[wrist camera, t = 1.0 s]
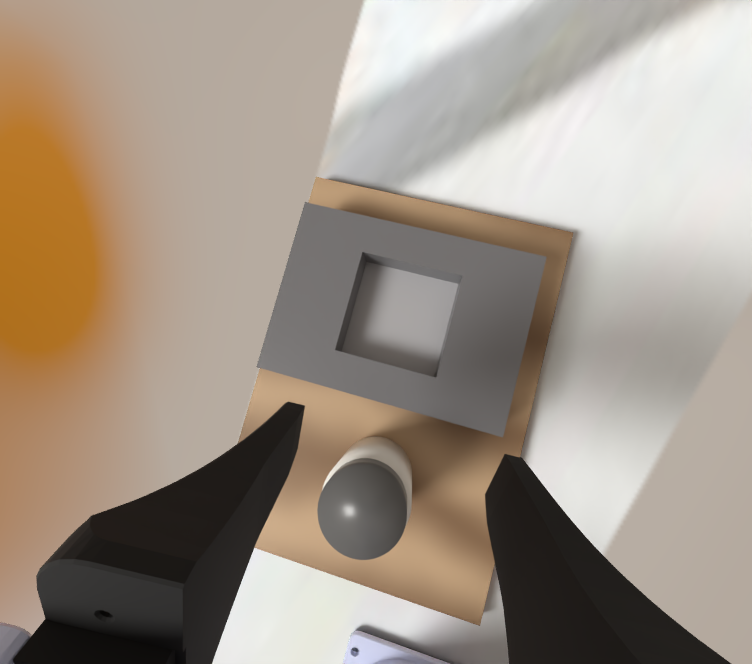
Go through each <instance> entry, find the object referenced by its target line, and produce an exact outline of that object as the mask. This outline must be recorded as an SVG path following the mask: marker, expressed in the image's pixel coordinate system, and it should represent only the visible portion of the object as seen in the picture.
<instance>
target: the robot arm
mask: <svg viewBox="0 0 752 664" xmlns="http://www.w3.org/2000/svg"><path fill="white" fill-rule="evenodd" d="M304 409H305V405H301V404H297V403H293V402H286V403H285V404H284V405H283V406H282V407H281V408H280V409H279V410H278V411H277V412H275V413H274V414H273V415H272V416H271V417H270V418H269V419H268V420H267V421H266V422H264V423H263V424H262V425H261V426H260V427H258V428H257V429H256V430H255V431H254V432H252V433H251V434H250V435H249V436H247V437H246V438H245V439H244V440H242V441H241V442H239V443H238V444H237V445H235V446H234V447H233V448H231V449H230V450H229V451H227V452H226V453H224V454H223V455H221V456H220V457H218V458H217V459H215V460H213V461H212V462H210V463H209V464H207V465H205V466H204V467H202V468H200V469H199V470H197V471H195V472H193V473H191V474H189V475H188V476H186V477H184V478H182V479H180V480H178V481H176V482H174V483H172V484H170V485H168V486H166V487H164V488H161V489H159V490H157V491H155V492H153V493H150V494H149V495H146V496H144V497H141V498H139V499H137V500H134V501H132V502H129V503H126V504H123V505H121V506H118V507H115V508H112V509H109V510H107V511H104V512H101V513H98V514H95V515H92V516H91V517H90V518H89V519H88V520H87V521H86V522H85V523H83V524H82V525H81V526H80V527H79V528H78V529H77V530H76V531H75V532H74V533H73V534H72V535H71V536H70V537H69V538H68V539H67V540H66V541H65V542H64V543H63V544H62V545H61V546H60V547H59V548H58V550H57V551H56V552H55V553H54V554H53V555H52V556H51V557H50V558H49V559H48V561H47V562H46V563H45V564H44V565H43V566H42V567H41V568H40V570H39V572H38V574H37V590H38V594H39V597H40V600H41V604H42V608H43V611H44V615H45V618H46V619H45V620H44V621H43V623H42V624H41V625H40V626H39V628H38V629H37V630H36V631H35V633H34V634H33V635H32V636H31V634H30V633H29V632H28V631H26V630H25V629H23V628H20V627H17V626H14V625H10V624H6V623H1V622H0V664H212V662H213V659H214V656H215V653H216V650H217V647H218V645H219V642H220V639H221V636H222V633H223V631H224V628H225V625H226V622H227V619H228V617H229V614H230V611H231V608H232V606H233V603H234V600H235V598H236V595H237V592H238V589H239V587H240V584H241V581H242V579H243V576H244V573H245V571H246V568H247V565H248V563H249V560H250V557H251V555H252V552H253V550H254V547H255V545H256V542H257V540H258V538H259V536H260V533H261V531H262V529H263V527H264V525H265V523H266V521H267V519H268V517H269V515H270V513H271V511H272V509H273V507H274V504H275V502H276V500H277V498H278V496H279V494H280V492H281V490H282V488H283V486H284V484H285V482H286V480H287V477H288V475H289V472H290V470H291V467H292V464H293V461H294V458H295V456H296V453H297V450H298V444H299V438H300V433H301V427H302V421H303V415H304ZM485 505H486V518H487V526H488V532H489V537H490V542H491V547H492V551H493V556H494V561H495V566H496V570H497V575H498V580H499V585H500V590H501V595H502V601H503V607H504V616H505V625H506V634H507V643H508V655H509V664H731V663H729V662H728V661H727V660H725V659H724V658H723V657H721V656H720V655H719V654H717V653H716V652H715V651H713V650H712V649H711V648H709V647H708V646H707V645H705V644H704V643H702V642H701V641H700V640H698V639H697V638H696V637H694V636H693V635H692V634H691V633H689V632H688V631H687V630H686V629H684V628H683V627H682V626H681V625H679V624H678V623H677V622H676V621H674V620H673V619H672V618H671V617H669V616H668V615H667V614H666V613H665V612H663V611H662V610H661V609H660V608H659V607H657V606H656V605H655V604H654V603H653V602H652V601H651V600H649V599H648V598H647V597H646V596H645V595H644V594H643V593H642V592H641V591H639V590H638V589H637V588H636V587H635V586H634V585H633V584H632V583H631V582H630V581H628V580H627V579H626V578H625V577H624V576H623V575H622V574H621V573H620V572H619V571H618V570H617V569H616V568H615V567H614V566H613V565H612V564H611V563H610V562H609V561H608V560H607V559H606V558H605V557H604V556H603V555H602V554H601V553H600V552H599V551H598V550H597V549H596V548H595V547H594V546H593V544H592V543H591V542H590V541H589V540H588V539H587V538H586V537H585V536H584V534H583V533H582V532H581V531H580V530H579V529H578V528H577V526H576V525H575V524H574V523H573V522H572V521H571V519H570V518H569V517H568V516H567V515H566V513H565V512H564V511H563V510H562V509H561V507H560V506H559V505H558V504H557V502H556V501H555V500H554V499H553V497H552V496H551V495H550V493H549V492H548V491H547V490H546V488H545V487H544V486H543V484H542V483H541V482H540V480H539V479H538V478H537V477H536V475H535V474H534V473H533V471H532V470H531V469H530V467H529V466H528V465H527V464H526V462H525V461H524V460H523V459H522V458H520V457H516V456H512V455H508V454H504V456H503V458H502V460H501V462H500V464H499V467H498V469H497V471H496V473H495V475H494V477H493V479H492V481H491V483H490V485H489V487H488V489H487V491H486V493H485ZM353 647H356V648H358V650H359V651H357V652H354V651H353V650H352V648H353ZM343 664H450V663H447V662H444V661H442V660H439V659H436V658H433V657H431V656H428V655H425V654H422V653H419V652H417V651H414V650H411V649H408V648H406V647H403V646H400V645H397V644H395V643H392V642H389V641H386V640H384V639H381V638H378V637H375V636H373V635H370V634H367V633H364V632H362V631H354V632H353V633H351V635H350V639H349V642H348V646H347V650H346V654H345V658H344V661H343Z"/></svg>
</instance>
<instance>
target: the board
mask: <svg viewBox="0 0 752 664" xmlns="http://www.w3.org/2000/svg"><path fill="white" fill-rule="evenodd" d="M308 203H311V204H316V205H320V206H325V207H329V208H334V209H338V210H342V211H347V212H351V213H356V214H360V215H364V216H369V217H373V218H378V219H382V220H387V221H391V222H395V223H400V224H404V225H409V226H413V227H418V228H422V229H426V230H431V231H435V232H440V233H444V234H448V235H453V236H457V237H462V238H466V239H471V240H475V241H479V242H484V243H488V244H493V245H497V246H502V247H506V248H510V249H515V250H519V251H524V252H528V253H532V254H537V255H541V256H546V257H547V258H546V262H545V266H544V270H543V274H542V278H541V282H540V287H539V291H538V295H537V299H536V303H535V307H534V311H533V316H532V320H531V324H530V328H529V332H528V336H527V340H526V344H525V349H524V353H523V357H522V361H521V365H520V369H519V373H518V377H517V382H516V386H515V390H514V394H513V398H512V402H511V406H510V410H509V415H508V419H507V423H506V427H505V431H504V435H503V437H500V436H496V435H493V434H489V433H486V432H482V431H479V430H475V429H472V428H468V427H465V426H461V425H458V424H454V423H451V422H447V421H444V420H440V419H437V418H433V417H430V416H426V415H423V414H419V413H416V412H412V411H409V410H405V409H402V408H398V407H395V406H391V405H388V404H384V403H381V402H377V401H374V400H370V399H367V398H363V397H360V396H356V395H353V394H349V393H346V392H342V391H339V390H335V389H332V388H328V387H325V386H321V385H318V384H314V383H311V382H307V381H304V380H300V379H297V378H293V377H290V376H286V375H283V374H279V373H276V372H272V371H269V370H265V369H262V368H260V369H259V373H258V376H257V380H256V383H255V386H254V390H253V393H252V397H251V400H250V403H249V407H248V410H247V414H246V417H245V421H244V424H243V427H242V431H241V434H240V438H239V441H238V443H239V442H241V441H242V440H244V439H245V438H246V437H247V436H249V435H250V434H251V433H252V432H254V431H255V430H256V429H257V428H258V427H260V426H261V425H262V424H263V423H264V422H266V421H267V420H268V419H269V418H270V417H271V416H272V415H273V414H274V413H275V412H277V411H278V410H279V409H280V408H281V407H282V406H283V405H284V404H285V403H286V402H293V403H297V404H301V405H305V409H304V415H303V421H302V427H301V433H300V438H299V444H298V450H297V453H296V456H295V458H294V461H293V464H292V467H291V470H290V472H289V475H288V477H287V480H286V482H285V484H284V486H283V488H282V490H281V492H280V494H279V496H278V498H277V500H276V502H275V504H274V507H273V509H272V511H271V513H270V515H269V517H268V519H267V521H266V523H265V525H264V527H263V529H262V531H261V533H260V536H259V538H258V540H257V542H256V545H255V547H254V548H257V549H260V550H263V551H266V552H269V553H272V554H274V555H277V556H280V557H283V558H286V559H289V560H292V561H295V562H297V563H300V564H303V565H306V566H309V567H312V568H315V569H318V570H320V571H323V572H326V573H329V574H332V575H335V576H338V577H341V578H344V579H346V580H349V581H352V582H355V583H358V584H361V585H364V586H367V587H369V588H372V589H375V590H378V591H381V592H384V593H387V594H390V595H392V596H395V597H398V598H401V599H404V600H407V601H410V602H413V603H416V604H418V605H421V606H424V607H427V608H430V609H433V610H436V611H439V612H441V613H444V614H447V615H450V616H453V617H456V618H459V619H462V620H465V621H467V622H470V623H473V624H476V625H479V626H480V623H481V619H482V615H483V611H484V606H485V602H486V598H487V594H488V590H489V585H490V581H491V577H492V573H493V569H494V564H495V561H494V556H493V551H492V547H491V542H490V537H489V532H488V526H487V518H486V505H485V493H486V491H487V489H488V487H489V485H490V483H491V481H492V479H493V477H494V475H495V473H496V471H497V469H498V467H499V464H500V462H501V460H502V458H503V456H504V454H508V455H512V456H516V457H520V455H521V451H522V447H523V443H524V438H525V434H526V430H527V426H528V422H529V417H530V413H531V409H532V405H533V401H534V396H535V392H536V388H537V384H538V379H539V375H540V371H541V367H542V363H543V358H544V354H545V350H546V346H547V342H548V337H549V333H550V329H551V325H552V321H553V316H554V312H555V308H556V304H557V300H558V295H559V291H560V287H561V283H562V279H563V274H564V270H565V266H566V262H567V258H568V253H569V249H570V245H571V241H572V237H573V233H572V232H568V231H563V230H559V229H554V228H549V227H545V226H540V225H536V224H531V223H526V222H522V221H517V220H513V219H508V218H503V217H499V216H494V215H489V214H485V213H480V212H476V211H471V210H466V209H462V208H457V207H453V206H448V205H443V204H439V203H434V202H430V201H425V200H420V199H416V198H411V197H407V196H402V195H397V194H393V193H388V192H383V191H379V190H374V189H370V188H365V187H360V186H356V185H351V184H347V183H342V182H337V181H333V180H328V179H324V178H319V177H316V179H315V182H314V185H313V189H312V192H311V196H310V199H309V202H308ZM372 436H379V437H384V438H387V439H390V440H392V441H394V442H395V443H397V444H398V445H399V446H400V447H401V448H402V449H403V450H404V451H405V453H406V454H407V456H408V458H409V460H410V463H411V468H412V506H411V513H410V517H409V520H408V522H407V524H406V527H405V529H404V532H403V534H402V537H401V538H400V540H399V541H398V543H397V544H396V545H395V546H394V548H392V549H391V550H390V551H389V552H387V553H386V554H384V555H382V556H380V557H378V558H375V559H370V560H357V559H352V558H349V557H347V556H344V555H342V554H341V553H339V552H338V551H336V550H335V549H334V548H333V547H332V546H331V545H330V544H329V543H328V541H327V540H326V539H325V537H324V535H323V533H322V531H321V529H320V526H319V522H318V513H317V509H318V501H319V497H320V494H321V492H322V489H323V485H324V482H325V480H326V478H327V476H328V474H329V473H330V471H331V470H332V469H333V468H334V466H335V465H336V464H337V463H338V462H339V460H340V459H341V458H342V457H343V456H344V454H345V453H346V452H347V451H348V450H349V448H350V447H351V446H352V445H353V444H355V443H356V442H357V441H359V440H361V439H363V438H367V437H372Z"/></svg>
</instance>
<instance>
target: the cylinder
mask: <svg viewBox="0 0 752 664" xmlns="http://www.w3.org/2000/svg"><path fill="white" fill-rule="evenodd" d="M411 506H412V468H411V463H410V460H409V458H408V456H407V454H406V453H405V451H404V450H403V449H402V448H401V447H400V446H399V445H398V444H397V443H395V442H394V441H392V440H390V439H387V438H384V437H379V436H372V437H367V438H363V439H361V440H359V441H357V442H356V443H355V444H353V445H352V446H351V447H350V448H349V450H348V451H347V452H346V453H345V454H344V456H343V457H342V458H341V459H340V460H339V462H338V463H337V464H336V465H335V466H334V468H333V469H332V470H331V471H330V473H329V474H328V476H327V478H326V480H325V482H324V485H323V489H322V492H321V494H320V497H319V501H318V509H317V513H318V522H319V526H320V529H321V531H322V533H323V535H324V537H325V539H326V540H327V541H328V543H329V544H330V545H331V546H332V547H333V548H334V549H335V550H336V551H338V552H339V553H341V554H342V555H344V556H347V557H349V558H352V559H357V560H370V559H375V558H378V557H380V556H382V555H384V554H386V553H387V552H389V551H390V550H391V549H392V548H394V546H395V545H396V544H397V543H398V541H399V540H400V538H401V537H402V534H403V532H404V529H405V527H406V524H407V522H408V520H409V517H410V513H411Z"/></svg>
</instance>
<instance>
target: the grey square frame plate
mask: <svg viewBox="0 0 752 664" xmlns="http://www.w3.org/2000/svg"><path fill="white" fill-rule="evenodd" d="M546 258H547V257H546V256H541V255H537V254H532V253H528V252H524V251H519V250H515V249H510V248H506V247H502V246H497V245H493V244H488V243H484V242H479V241H475V240H471V239H466V238H462V237H457V236H453V235H448V234H444V233H440V232H435V231H431V230H426V229H422V228H418V227H413V226H409V225H404V224H400V223H395V222H391V221H387V220H382V219H378V218H373V217H369V216H364V215H360V214H356V213H351V212H347V211H342V210H338V209H334V208H329V207H325V206H320V205H316V204H311V203H307V202H305V204H304V208H303V211H302V214H301V218H300V221H299V225H298V228H297V231H296V235H295V238H294V242H293V245H292V248H291V252H290V255H289V259H288V262H287V266H286V269H285V272H284V276H283V279H282V283H281V286H280V289H279V293H278V296H277V299H276V303H275V306H274V310H273V313H272V317H271V320H270V323H269V327H268V330H267V333H266V337H265V341H264V344H263V347H262V350H261V354H260V357H259V361H258V364H257V367H258V368H262V369H265V370H269V371H272V372H276V373H279V374H283V375H286V376H290V377H293V378H297V379H300V380H304V381H307V382H311V383H314V384H318V385H321V386H325V387H328V388H332V389H335V390H339V391H342V392H346V393H349V394H353V395H356V396H360V397H363V398H367V399H370V400H374V401H377V402H381V403H384V404H388V405H391V406H395V407H398V408H402V409H405V410H409V411H412V412H416V413H419V414H423V415H426V416H430V417H433V418H437V419H440V420H444V421H447V422H451V423H454V424H458V425H461V426H465V427H468V428H472V429H475V430H479V431H482V432H486V433H489V434H493V435H496V436H500V437H503V435H504V431H505V427H506V423H507V419H508V415H509V410H510V406H511V402H512V398H513V394H514V390H515V386H516V382H517V377H518V373H519V369H520V365H521V361H522V357H523V353H524V349H525V344H526V340H527V336H528V332H529V328H530V324H531V320H532V316H533V311H534V307H535V303H536V299H537V295H538V291H539V287H540V282H541V278H542V274H543V270H544V266H545V262H546Z"/></svg>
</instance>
